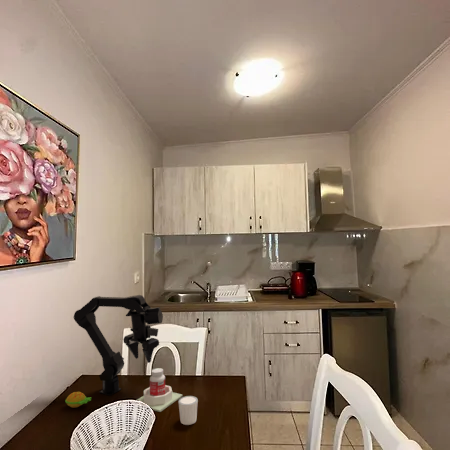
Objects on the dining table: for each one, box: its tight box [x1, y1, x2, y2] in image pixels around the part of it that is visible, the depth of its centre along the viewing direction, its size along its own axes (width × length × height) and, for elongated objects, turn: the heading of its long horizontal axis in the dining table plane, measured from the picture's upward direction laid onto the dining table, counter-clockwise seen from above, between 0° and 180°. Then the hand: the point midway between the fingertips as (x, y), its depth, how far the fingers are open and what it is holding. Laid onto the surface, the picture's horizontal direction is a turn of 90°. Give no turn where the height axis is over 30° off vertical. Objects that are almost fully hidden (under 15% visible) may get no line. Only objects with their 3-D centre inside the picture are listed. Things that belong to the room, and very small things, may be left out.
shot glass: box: [178, 395, 199, 426], centre depth 113 cm, size 7×7×7 cm
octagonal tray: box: [136, 384, 183, 413], centre depth 128 cm, size 14×14×4 cm
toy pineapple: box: [64, 391, 92, 409], centre depth 125 cm, size 7×10×5 cm
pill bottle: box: [149, 367, 166, 396], centre depth 129 cm, size 6×6×11 cm
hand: (143, 360), depth 138 cm, fingers open, 9 cm apart
